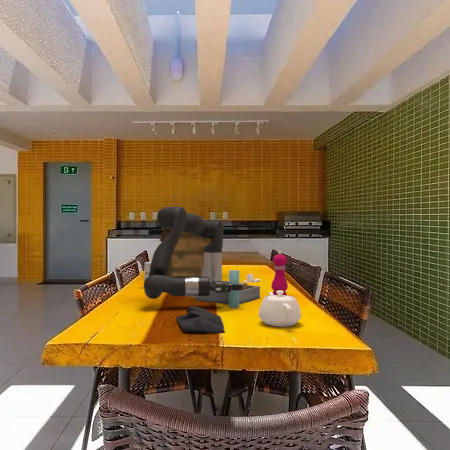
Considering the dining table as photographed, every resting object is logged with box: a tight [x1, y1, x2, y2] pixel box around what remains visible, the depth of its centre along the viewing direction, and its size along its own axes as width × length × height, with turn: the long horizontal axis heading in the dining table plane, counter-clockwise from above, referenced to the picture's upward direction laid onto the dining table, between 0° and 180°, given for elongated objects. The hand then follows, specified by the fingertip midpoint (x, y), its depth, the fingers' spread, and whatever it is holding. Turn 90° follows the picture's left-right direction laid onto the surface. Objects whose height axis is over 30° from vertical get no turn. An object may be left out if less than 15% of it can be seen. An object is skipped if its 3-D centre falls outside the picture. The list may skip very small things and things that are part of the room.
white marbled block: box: [143, 261, 151, 282], centre depth 215 cm, size 7×7×13 cm
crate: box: [159, 220, 224, 278], centre depth 257 cm, size 35×35×33 cm
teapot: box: [258, 291, 302, 328], centre depth 145 cm, size 22×14×11 cm, turn 10°
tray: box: [194, 284, 261, 305], centre depth 187 cm, size 20×20×5 cm
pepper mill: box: [270, 250, 289, 296], centre depth 195 cm, size 7×7×20 cm
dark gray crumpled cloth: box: [176, 305, 226, 334], centre depth 141 cm, size 15×22×5 cm
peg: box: [228, 269, 240, 309], centre depth 171 cm, size 4×4×14 cm
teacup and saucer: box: [243, 273, 261, 283], centre depth 242 cm, size 9×8×4 cm
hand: (240, 286), depth 171 cm, fingers open, 5 cm apart
